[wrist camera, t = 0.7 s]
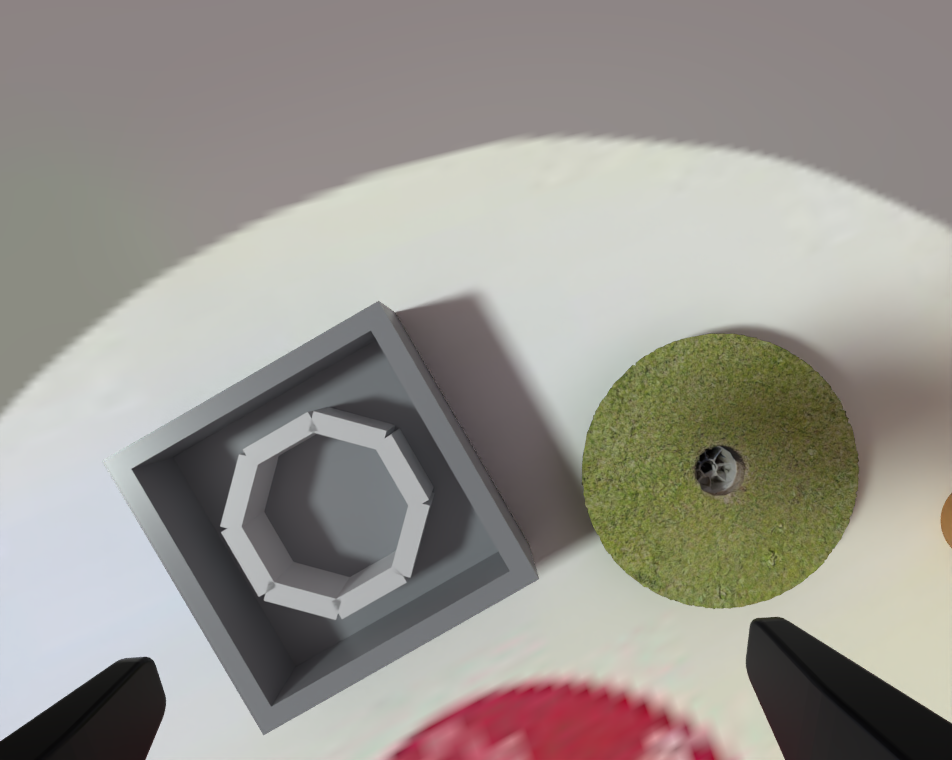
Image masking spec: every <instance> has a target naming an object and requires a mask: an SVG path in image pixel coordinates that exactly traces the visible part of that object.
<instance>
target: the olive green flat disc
mask: <svg viewBox="0 0 952 760" xmlns="http://www.w3.org/2000/svg"><path fill="white" fill-rule="evenodd" d="M848 419H849V418H847V417H846V411H844V410H843V406H842V404H841V402H840V400H839V399H838V398H837V396H836V394H835V393H834V392H833V391H832V389H831V386H830V385H829V384H828V383H827V382H826V381H825V380H824V379H823V377H821V376H820V375H819V372H816V371H815V370H813V368H812V367H811V366H810V365H808V364H807V363H806V362H804V361H803V360H802V359H801V360H799V357H797V356H796V355H793V354H791V353H790V352H789V351H787V350H785V349H783V348H781V347H779V346H777V345H774V344H772V343H771V342H766V341H762V340H759V339H757V338H754V337H747V336H744V335H737V334H725V333H723V334H706V335H700V336H696V337H689V338H685V339H681V340H679V341H674V342H672V343H670V344H667V345H665V346H664V347H660V348H658V349H656V350H655V351H654V352H651V353H650V354H649V355H646V356H644V357H643V358H642V359H640V360H639V361H638V362H636V366H634V365H632V366H631V367H630V368H629V369H628V370H627V371H626V373H625V374H624V375H623V376H622V377H621V378H620V379H619V380H617V381H616V382H615V383H614V385H613V386H612V388H611V389H610V390H609V392H608V394H607V395H606V397H605V398H604V399H603V400H602V401H601V403H600V405H599V407H598V408H597V410H596V411H595V415H593V420H592V423H591V425H590V428H589V430H588V432H587V436H586V443H585V449H584V453H583V461H582V486H583V487H584V493H583V495H584V498H585V506H586V507H587V508H588V514H589V517H590V519H591V522H592V525H593V527H594V529H595V531H596V533H597V534H598V535H599V536H600V540H601V542H602V544H603V546H604V547H605V549H606V551H607V552H608V553H609V554H611V556H612V558H613V559H614V561H615V562H616V563H617V564H618V565H619V566H620V567H621V568H622V569H623V570H624V571H625V572H626V573H627V574H628V575H630V576H631V577H633V578H634V579H635V580H636V581H638V582H639V583H640V584H641V585H643V586H644V587H649V589H650V590H652V591H653V592H655V593H657V594H659V595H661V596H664V597H667V598H668V599H670V600H675V601H679V602H681V603H683V604H687V605H691V606H692V605H695V606H699V607H702V606H703V607H705V608H713V609H715V608H716V607H717V608H733V607H744V606H746V605H751V604H755V603H758V602H761V601H766V600H770V599H772V598H773V597H775V596H778V595H781V594H782V593H784V592H785V591H787V590H790V589H792V588H793V587H795V586H796V585H798V584H800V583H801V582H803V581H804V580H805V579H806V578H807V577H808V576H809V575H810V574H812V573H814V572H815V571H816V570H817V569H818V568H819V567H820V566H821V565H822V564H823V563H824V560H826V559H827V557H828V555H829V554H830V553H831V552H832V549H834V548H835V546H836V545H837V543H838V542H839V540H840V539H841V538H842V535H843V533H844V531H845V529H846V527H847V526H848V524H849V521H850V519H849V517H850V516H851V514H852V512H853V507H854V506H855V498H856V497H857V495H856V493H855V492H856V491H858V474H859V467H858V464H857V463H858V461H859V460H858V453H857V450H856V444H855V438H854V434H853V430H852V427H851V425H850V424H849V423H848Z"/></svg>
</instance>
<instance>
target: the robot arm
mask: <svg viewBox="0 0 952 760" xmlns="http://www.w3.org/2000/svg"><path fill="white" fill-rule="evenodd" d="M746 669H747V673H748V676H749V679H750V682H751V684H752V686H753V688H754V691H755V693H756V695H757V697H758V700H759V702H760V704H761V706H762V709H763V711H764V713H765V715H766V718H767V720H768V722H769V724H770V727H771V729H772V731H773V733H774V736H775V738H776V740H777V742H778V745H779V747H780V749H781V751H782V754H783V756H784V758H785V760H952V723H950V722H949V721H947V720H945V719H944V718H942V717H941V716H939V715H937V714H936V713H934V712H933V711H931V710H929V709H928V708H926V707H925V706H923V705H921V704H920V703H918V702H917V701H915V700H914V699H912V698H910V697H909V696H907V695H906V694H904V693H902V692H901V691H899V690H898V689H896V688H894V687H893V686H891V685H890V684H888V683H886V682H885V681H883V680H882V679H880V678H878V677H877V676H875V675H874V674H872V673H870V672H869V671H867V670H866V669H864V668H862V667H861V666H859V665H858V664H856V663H855V662H853V661H851V660H850V659H848V658H847V657H845V656H843V655H842V654H840V653H839V652H837V651H835V650H834V649H832V648H831V647H829V646H827V645H826V644H824V643H823V642H821V641H819V640H818V639H816V638H815V637H813V636H811V635H810V634H808V633H807V632H805V631H803V630H802V629H800V628H799V627H797V626H795V625H794V624H792V623H791V622H789V621H787V620H786V619H783V618H780V617H768V618H756V619H754V620H753V621H752V622H751V624H750V629H749V637H748V646H747V654H746ZM165 707H166V697H165V693H164V690H163V687H162V684H161V681H160V677H159V674H158V671H157V668H156V665H155V663H154V661H153V660H152V659H151V658H149V657H136V658H125V659H121V660H119V661H117V662H115V663H114V664H112V665H111V666H109V667H108V668H106V669H105V670H103V671H102V672H100V673H99V674H98V675H96V676H95V677H93V678H92V679H90V680H89V681H87V682H86V683H85V684H83V685H82V686H80V687H79V688H77V689H76V690H74V691H73V692H71V693H70V694H69V695H67V696H66V697H64V698H63V699H61V700H60V701H58V702H57V703H55V704H54V705H52V706H51V707H50V708H48V709H47V710H45V711H44V712H42V713H41V714H39V715H38V716H36V717H35V718H34V719H32V720H31V721H29V722H28V723H26V724H25V725H23V726H22V727H20V728H19V729H18V730H16V731H15V732H13V733H12V734H10V735H9V736H7V737H6V738H4V739H3V740H2V741H0V760H146V757H147V755H148V752H149V750H150V747H151V745H152V743H153V740H154V738H155V735H156V733H157V731H158V728H159V726H160V723H161V721H162V719H163V716H164V712H165Z"/></svg>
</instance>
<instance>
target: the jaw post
mask: <svg viewBox="0 0 952 760" xmlns="http://www.w3.org/2000/svg"><path fill="white" fill-rule="evenodd" d="M941 528H942V532H943V535H944V537H945V540H946V541H947V543H948V544H949V545H950V547H951V548H952V493H951V495H950V496H949V497H948V499H947V500H946V502H945V504H944V506H943V509H942V513H941Z"/></svg>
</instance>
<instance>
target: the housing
mask: <svg viewBox="0 0 952 760" xmlns="http://www.w3.org/2000/svg"><path fill="white" fill-rule="evenodd" d="M102 462H103V463H104V465H105V467H106V468H107V470H108V472H109V474H110V475H111V477H112V479H113V480H114V482H115V484H116V485H117V487H118V489H119V491H120V492H121V494H122V496H123V497H124V499H125V501H126V502H127V504H128V506H129V508H130V509H131V511H132V513H133V514H134V516H135V518H136V519H137V521H138V523H139V525H140V526H141V528H142V530H143V531H144V533H145V535H146V536H147V538H148V540H149V542H150V543H151V545H152V547H153V548H154V550H155V552H156V553H157V555H158V557H159V559H160V560H161V562H162V564H163V565H164V567H165V569H166V570H167V572H168V574H169V575H170V577H171V579H172V581H173V582H174V584H175V586H176V587H177V589H178V591H179V592H180V594H181V596H182V598H183V599H184V601H185V603H186V604H187V606H188V608H189V609H190V611H191V613H192V615H193V616H194V618H195V620H196V621H197V623H198V625H199V626H200V628H201V630H202V632H203V633H204V635H205V637H206V638H207V640H208V642H209V643H210V645H211V647H212V649H213V650H214V652H215V654H216V655H217V657H218V659H219V660H220V662H221V664H222V665H223V667H224V669H225V671H226V672H227V674H228V676H229V677H230V679H231V681H232V682H233V684H234V686H235V688H236V689H237V691H238V693H239V694H240V696H241V698H242V699H243V701H244V703H245V705H246V706H247V708H248V710H249V711H250V713H251V715H252V716H253V718H254V720H255V722H256V723H257V725H258V727H259V728H260V730H261V732H262V733H263V735H265V734H267V733H268V732H270V731H272V730H274V729H275V728H277V727H279V726H281V725H282V724H284V723H286V722H288V721H289V720H291V719H293V718H295V717H297V716H298V715H300V714H302V713H304V712H305V711H307V710H309V709H311V708H312V707H314V706H316V705H318V704H319V703H321V702H323V701H325V700H326V699H328V698H330V697H332V696H334V695H335V694H337V693H339V692H341V691H342V690H344V689H346V688H348V687H349V686H351V685H353V684H355V683H356V682H358V681H360V680H362V679H364V678H365V677H367V676H369V675H371V674H372V673H374V672H376V671H378V670H379V669H381V668H383V667H385V666H386V665H388V664H390V663H392V662H393V661H395V660H397V659H399V658H401V657H402V656H404V655H406V654H408V653H409V652H411V651H413V650H415V649H416V648H418V647H420V646H422V645H423V644H425V643H427V642H429V641H431V640H432V639H434V638H436V637H438V636H439V635H441V634H443V633H445V632H446V631H448V630H450V629H452V628H453V627H455V626H457V625H459V624H460V623H462V622H464V621H466V620H468V619H469V618H471V617H473V616H475V615H476V614H478V613H480V612H482V611H483V610H485V609H487V608H489V607H490V606H492V605H494V604H496V603H498V602H499V601H501V600H503V599H505V598H506V597H508V596H510V595H512V594H513V593H515V592H517V591H519V590H520V589H522V588H524V587H526V586H527V585H529V584H531V583H533V582H535V581H536V580H538V579H539V577H538V574H537V570H536V567H535V563H534V560H533V557H532V553H531V550H530V546H529V544H528V543H527V541H526V539H525V537H524V536H523V534H522V532H521V530H520V529H519V527H518V525H517V523H516V522H515V520H514V518H513V516H512V515H511V513H510V511H509V510H508V508H507V506H506V504H505V503H504V501H503V499H502V497H501V496H500V494H499V492H498V490H497V489H496V487H495V485H494V484H493V482H492V480H491V478H490V477H489V475H488V473H487V471H486V470H485V468H484V466H483V464H482V463H481V461H480V459H479V457H478V456H477V454H476V452H475V451H474V449H473V447H472V445H471V444H470V442H469V440H468V438H467V437H466V435H465V433H464V431H463V430H462V428H461V426H460V425H459V423H458V421H457V419H456V418H455V416H454V414H453V412H452V411H451V409H450V407H449V405H448V404H447V402H446V400H445V398H444V397H443V395H442V393H441V392H440V390H439V388H438V386H437V385H436V383H435V381H434V379H433V378H432V376H431V374H430V372H429V371H428V369H427V367H426V366H425V364H424V362H423V360H422V359H421V357H420V355H419V353H418V352H417V350H416V348H415V346H414V345H413V343H412V341H411V339H410V338H409V336H408V334H407V333H406V331H405V329H404V327H403V326H402V324H401V322H400V320H399V319H398V317H397V315H396V313H395V312H394V311H392V310H391V309H390V308H388V307H387V306H385V305H384V304H382V303H381V302H380V301H378V302H376V303H374V304H373V305H371V306H369V307H367V308H366V309H364V310H362V311H360V312H359V313H357V314H355V315H354V316H352V317H350V318H348V319H347V320H345V321H343V322H341V323H340V324H338V325H336V326H335V327H333V328H331V329H329V330H328V331H326V332H324V333H322V334H321V335H319V336H317V337H316V338H314V339H312V340H310V341H309V342H307V343H305V344H303V345H302V346H300V347H298V348H297V349H295V350H293V351H291V352H290V353H288V354H286V355H284V356H283V357H281V358H279V359H278V360H276V361H274V362H272V363H271V364H269V365H267V366H265V367H264V368H262V369H260V370H259V371H257V372H255V373H253V374H252V375H250V376H248V377H246V378H245V379H243V380H241V381H240V382H238V383H236V384H234V385H233V386H231V387H229V388H227V389H226V390H224V391H222V392H221V393H219V394H217V395H215V396H214V397H212V398H210V399H208V400H207V401H205V402H203V403H202V404H200V405H198V406H196V407H195V408H193V409H191V410H189V411H188V412H186V413H184V414H183V415H181V416H179V417H177V418H176V419H174V420H172V421H170V422H169V423H167V424H165V425H164V426H162V427H160V428H158V429H157V430H155V431H153V432H151V433H150V434H148V435H146V436H145V437H143V438H141V439H139V440H138V441H136V442H134V443H132V444H131V445H129V446H127V447H126V448H124V449H122V450H120V451H119V452H117V453H115V454H113V455H112V456H110V457H108V458H107V459H105V460H103V461H102Z"/></svg>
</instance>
